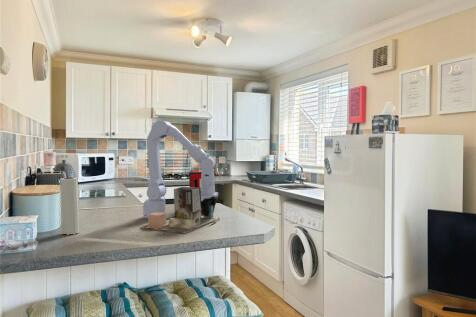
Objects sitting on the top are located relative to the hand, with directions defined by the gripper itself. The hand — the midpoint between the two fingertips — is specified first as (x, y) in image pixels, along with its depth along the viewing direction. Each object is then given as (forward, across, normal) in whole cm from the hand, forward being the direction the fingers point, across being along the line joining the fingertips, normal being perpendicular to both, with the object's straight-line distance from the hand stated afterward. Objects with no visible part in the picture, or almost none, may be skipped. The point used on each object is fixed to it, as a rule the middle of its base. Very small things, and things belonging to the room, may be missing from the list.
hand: (208, 214), depth 152 cm
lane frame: (+2, -16, +4) cm, 17 cm away
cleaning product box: (+2, +16, +15) cm, 21 cm away
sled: (+2, -10, 0) cm, 10 cm away
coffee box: (+2, -16, 0) cm, 16 cm away
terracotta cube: (+1, -22, +10) cm, 25 cm away
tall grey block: (+2, -40, +37) cm, 55 cm away
